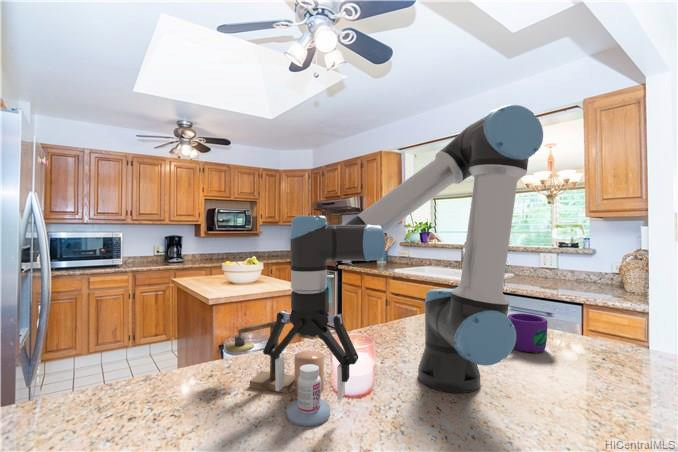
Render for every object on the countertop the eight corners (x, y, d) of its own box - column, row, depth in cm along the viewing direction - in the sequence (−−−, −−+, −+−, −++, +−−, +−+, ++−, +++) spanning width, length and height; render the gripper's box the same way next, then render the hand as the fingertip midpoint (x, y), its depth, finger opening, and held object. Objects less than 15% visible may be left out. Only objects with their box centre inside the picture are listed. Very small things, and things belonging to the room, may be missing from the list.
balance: (329, 386, 86) (330, 311, 86) (320, 399, 79) (320, 319, 79) (235, 372, 93) (235, 304, 93) (219, 383, 86) (219, 310, 87)
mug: (526, 341, 120) (526, 311, 120) (556, 352, 109) (556, 320, 109) (484, 346, 115) (484, 315, 115) (512, 359, 104) (512, 325, 104)
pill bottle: (317, 415, 70) (317, 373, 70) (294, 413, 71) (294, 371, 71) (323, 403, 75) (323, 364, 75) (301, 401, 76) (301, 362, 76)
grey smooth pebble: (335, 406, 76) (335, 401, 76) (321, 429, 67) (321, 423, 67) (297, 400, 78) (297, 395, 78) (278, 422, 70) (278, 416, 70)
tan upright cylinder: (327, 384, 86) (327, 352, 86) (317, 398, 80) (318, 363, 80) (301, 381, 88) (301, 349, 88) (289, 393, 82) (289, 359, 82)
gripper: (371, 289, 73) (372, 391, 73) (264, 284, 80) (264, 377, 80) (364, 296, 66) (364, 410, 66) (246, 290, 73) (247, 392, 73)
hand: (309, 392), depth 73 cm, fingers open, 13 cm apart
